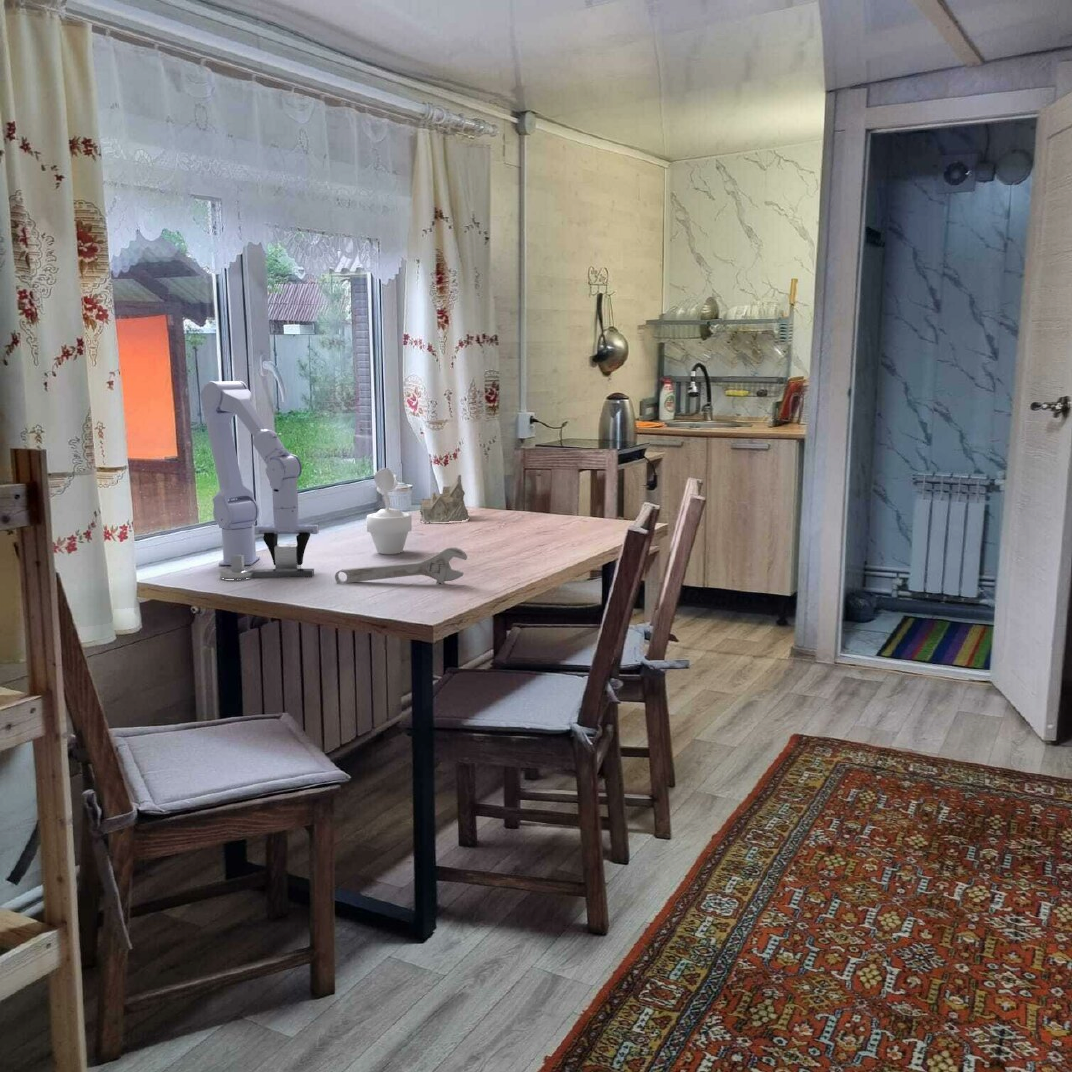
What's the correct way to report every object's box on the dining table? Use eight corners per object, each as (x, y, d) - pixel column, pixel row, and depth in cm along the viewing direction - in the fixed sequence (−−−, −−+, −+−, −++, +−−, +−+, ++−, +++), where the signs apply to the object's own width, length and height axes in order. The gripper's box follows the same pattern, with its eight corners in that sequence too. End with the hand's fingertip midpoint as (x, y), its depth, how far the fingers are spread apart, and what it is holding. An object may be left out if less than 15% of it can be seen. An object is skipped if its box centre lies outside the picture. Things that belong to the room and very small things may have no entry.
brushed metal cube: (280, 568, 241) (278, 543, 240) (301, 567, 242) (300, 543, 241) (275, 572, 237) (274, 547, 236) (297, 572, 237) (296, 546, 236)
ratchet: (225, 573, 236) (224, 552, 235) (316, 572, 236) (315, 551, 236) (216, 580, 228) (214, 559, 227) (310, 579, 229) (309, 558, 228)
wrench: (340, 594, 227) (470, 581, 224) (337, 596, 226) (469, 582, 222) (334, 559, 226) (465, 545, 223) (332, 560, 224) (464, 547, 221)
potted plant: (404, 557, 254) (402, 458, 250) (360, 555, 257) (357, 457, 253) (420, 548, 267) (418, 453, 262) (378, 547, 269) (375, 453, 265)
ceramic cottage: (469, 515, 325) (466, 469, 321) (470, 525, 308) (466, 476, 305) (421, 519, 324) (417, 472, 320) (419, 529, 308) (414, 480, 304)
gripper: (250, 509, 232) (253, 567, 235) (314, 509, 233) (316, 567, 235) (257, 505, 239) (260, 562, 242) (319, 505, 240) (321, 561, 242)
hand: (288, 564), depth 239 cm, fingers open, 5 cm apart
